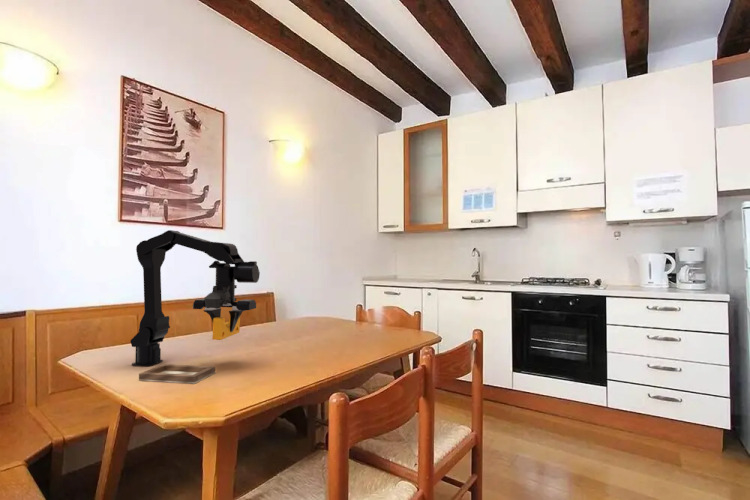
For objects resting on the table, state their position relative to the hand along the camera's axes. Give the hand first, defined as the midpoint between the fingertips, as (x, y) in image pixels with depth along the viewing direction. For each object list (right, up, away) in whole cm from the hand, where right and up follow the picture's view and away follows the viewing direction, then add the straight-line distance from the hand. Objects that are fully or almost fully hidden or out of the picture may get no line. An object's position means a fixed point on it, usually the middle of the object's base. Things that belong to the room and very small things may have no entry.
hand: (224, 331), depth 124 cm
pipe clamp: (0, -2, 0) cm, 2 cm away
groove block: (-9, -11, -12) cm, 18 cm away
